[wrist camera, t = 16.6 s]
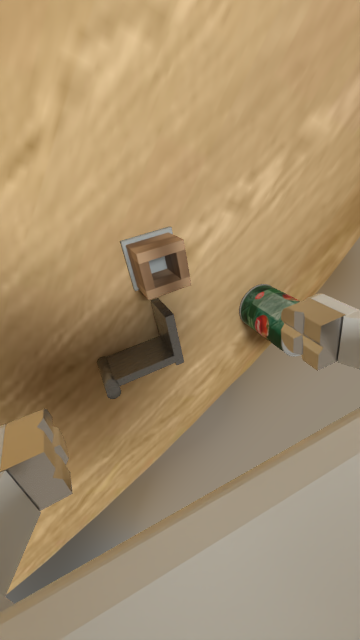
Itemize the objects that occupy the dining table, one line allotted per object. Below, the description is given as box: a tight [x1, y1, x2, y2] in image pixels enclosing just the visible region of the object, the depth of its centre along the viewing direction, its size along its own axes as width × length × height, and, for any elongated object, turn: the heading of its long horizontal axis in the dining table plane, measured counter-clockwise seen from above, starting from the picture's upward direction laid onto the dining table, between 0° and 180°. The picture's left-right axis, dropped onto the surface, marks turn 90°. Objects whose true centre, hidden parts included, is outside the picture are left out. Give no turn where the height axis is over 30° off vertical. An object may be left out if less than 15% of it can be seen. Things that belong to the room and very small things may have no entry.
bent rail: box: [97, 298, 184, 399], centre depth 41 cm, size 12×8×8 cm
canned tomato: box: [239, 284, 301, 356], centre depth 48 cm, size 8×8×11 cm
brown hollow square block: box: [126, 232, 191, 300], centre depth 38 cm, size 6×6×5 cm
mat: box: [120, 227, 173, 291], centre depth 40 cm, size 7×7×1 cm
